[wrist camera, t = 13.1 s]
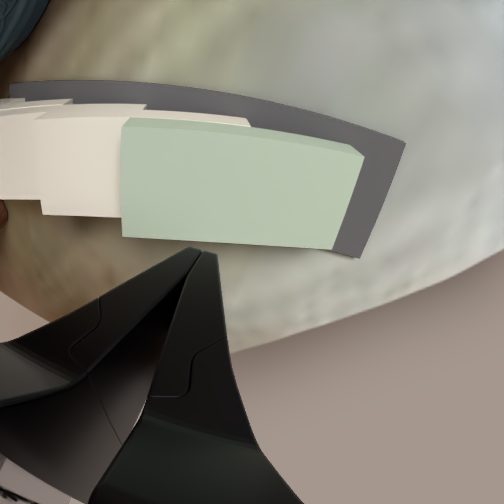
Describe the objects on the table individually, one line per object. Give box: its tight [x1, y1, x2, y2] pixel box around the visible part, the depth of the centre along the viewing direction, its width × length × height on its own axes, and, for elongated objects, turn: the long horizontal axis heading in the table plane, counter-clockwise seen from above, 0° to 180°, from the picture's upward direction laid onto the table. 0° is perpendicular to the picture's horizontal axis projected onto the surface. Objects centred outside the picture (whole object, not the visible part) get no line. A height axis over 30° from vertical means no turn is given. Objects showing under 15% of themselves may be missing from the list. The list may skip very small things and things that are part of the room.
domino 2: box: [33, 109, 251, 218], centre depth 14 cm, size 5×2×10 cm
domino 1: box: [0, 104, 147, 200], centre depth 14 cm, size 5×2×10 cm
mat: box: [9, 80, 406, 259], centre depth 16 cm, size 7×24×1 cm, turn 79°
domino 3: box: [120, 117, 365, 250], centre depth 14 cm, size 5×2×10 cm
